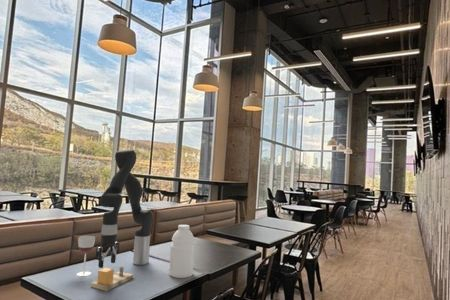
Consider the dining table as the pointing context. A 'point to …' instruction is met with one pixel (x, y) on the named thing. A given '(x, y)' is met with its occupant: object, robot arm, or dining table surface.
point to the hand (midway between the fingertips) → (107, 265)
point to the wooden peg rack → (114, 280)
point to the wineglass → (85, 250)
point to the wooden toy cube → (105, 275)
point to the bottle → (182, 253)
